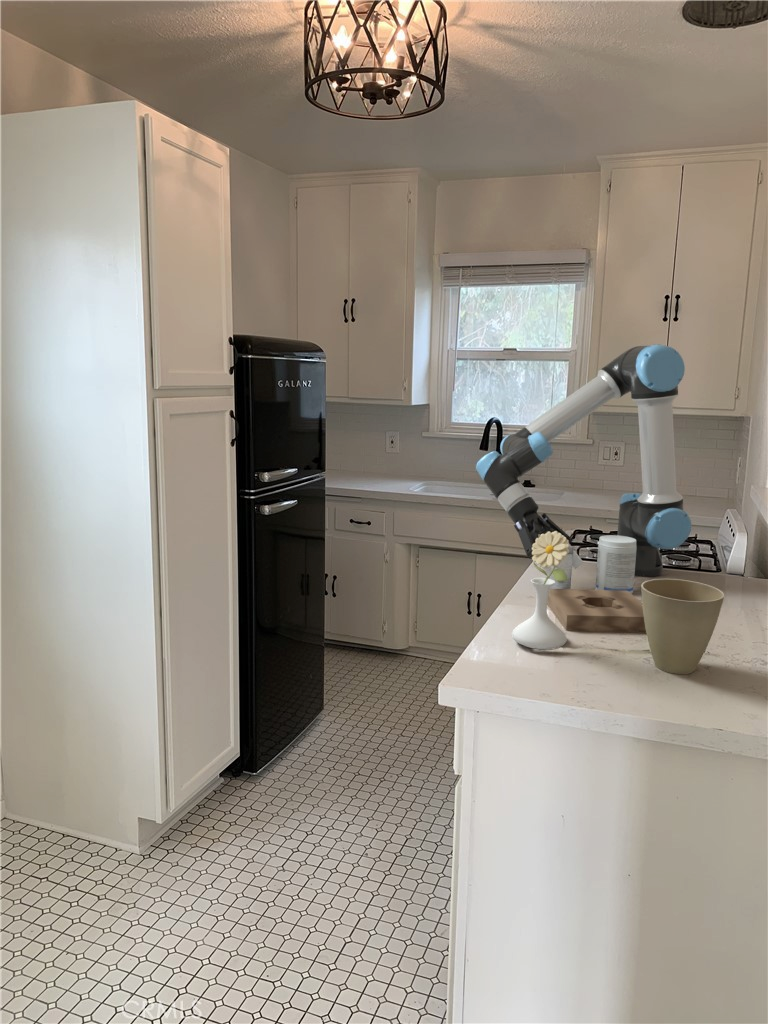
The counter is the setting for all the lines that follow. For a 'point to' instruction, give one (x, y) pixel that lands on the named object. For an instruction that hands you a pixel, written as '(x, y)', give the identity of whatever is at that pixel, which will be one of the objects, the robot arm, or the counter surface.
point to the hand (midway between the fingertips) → (567, 570)
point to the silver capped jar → (567, 568)
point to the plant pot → (679, 621)
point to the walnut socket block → (597, 610)
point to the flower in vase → (544, 595)
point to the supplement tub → (616, 563)
